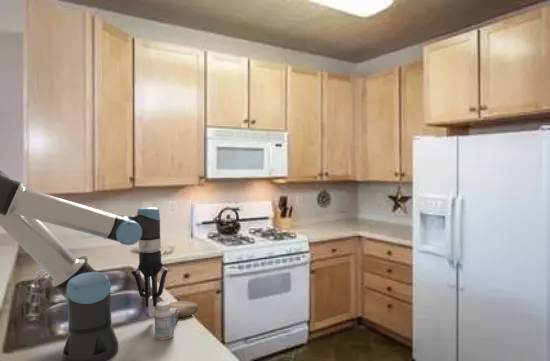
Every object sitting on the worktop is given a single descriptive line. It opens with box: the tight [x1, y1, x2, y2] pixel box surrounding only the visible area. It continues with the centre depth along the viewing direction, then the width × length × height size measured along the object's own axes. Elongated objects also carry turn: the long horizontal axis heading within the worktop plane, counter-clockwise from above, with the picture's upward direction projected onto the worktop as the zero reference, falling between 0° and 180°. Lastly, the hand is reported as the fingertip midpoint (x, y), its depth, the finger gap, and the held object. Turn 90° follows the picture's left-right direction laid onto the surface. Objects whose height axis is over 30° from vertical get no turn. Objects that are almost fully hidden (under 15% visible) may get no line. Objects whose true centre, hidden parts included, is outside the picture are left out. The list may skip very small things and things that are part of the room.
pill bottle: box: [153, 300, 175, 341], centre depth 126 cm, size 6×6×11 cm
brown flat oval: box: [170, 300, 199, 326], centre depth 144 cm, size 20×14×4 cm
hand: (152, 315), depth 137 cm, fingers closed
